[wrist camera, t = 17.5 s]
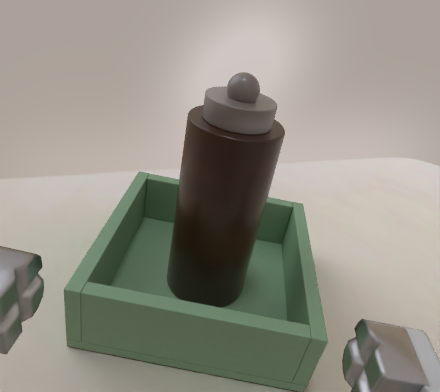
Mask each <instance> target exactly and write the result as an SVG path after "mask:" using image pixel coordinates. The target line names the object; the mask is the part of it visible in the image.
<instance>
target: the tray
mask: <svg viewBox="0 0 440 392" xmlns="http://www.w3.org/2000/svg"><path fill="white" fill-rule="evenodd" d="M178 187H179V180H178V179H173V178H168V177H163V176H158V175H153V174H149V173H144V172H139V173H138V174H137V176H136V177H135V179H134V180H133V182H132V183H131V185H130V187H129V188H128V190H127V191H126V193H125V194H124V196H123V198H122V199H121V201H120V202H119V204H118V205H117V207H116V209H115V210H114V212H113V213H112V215H111V216H110V218H109V220H108V221H107V223H106V224H105V226H104V227H103V229H102V231H101V232H100V234H99V235H98V237H97V238H96V240H95V241H94V243H93V245H92V246H91V248H90V249H89V251H88V252H87V254H86V256H85V257H84V259H83V260H82V262H81V263H80V265H79V267H78V268H77V270H76V271H75V273H74V274H73V276H72V278H71V279H70V281H69V282H68V284H67V285H66V287H65V289H64V301H65V320H66V338H67V346H70V347H75V348H80V349H85V350H90V351H95V352H100V353H105V354H110V355H115V356H120V357H126V358H131V359H136V360H141V361H146V362H151V363H156V364H161V365H166V366H171V367H176V368H181V369H187V370H192V371H197V372H202V373H207V374H212V375H217V376H222V377H227V378H232V379H237V380H243V381H248V382H253V383H258V384H263V385H268V386H273V387H278V388H283V389H288V390H293V391H298V392H304V390H305V388H306V386H307V384H308V382H309V380H310V378H311V376H312V374H313V372H314V370H315V367H316V365H317V363H318V361H319V359H320V357H321V355H322V353H323V351H324V348H325V346H326V344H327V342H328V340H327V334H326V328H325V323H324V317H323V312H322V306H321V301H320V295H319V290H318V284H317V279H316V273H315V268H314V262H313V257H312V251H311V246H310V240H309V235H308V229H307V224H306V218H305V213H304V207H303V204H301V203H296V202H293V203H292V202H290V201H285V200H280V199H274V198H269V197H267V201H266V204H265V208H264V212H263V215H262V219H261V223H260V226H259V230H258V234H257V237H256V241H255V245H254V248H253V252H252V256H251V259H250V263H249V267H248V270H247V274H246V277H245V281H244V285H243V288H242V292H241V294H240V296H239V297H238V298H237V299H236V300H235V301H234V302H233V303H231V304H229V305H227V306H225V307H222V308H219V307H214V306H209V305H204V304H199V303H194V302H189V301H184V300H180V299H179V298H177V297H176V296H175V295H174V294H173V292H172V291H171V290H170V288H169V286H168V283H167V270H168V262H169V255H170V247H171V240H172V232H173V225H174V217H175V209H176V202H177V194H178Z"/></svg>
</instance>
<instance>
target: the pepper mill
mask: <svg viewBox="0 0 440 392" xmlns="http://www.w3.org/2000/svg"><path fill="white" fill-rule="evenodd" d="M259 92H260V86H259V83H258V81H257V79H256V78H255V77H254V76H253V75H251V74H249V73H244V72H243V73H238V74H236V75H235V76H233V77H232V78H231V79H230V81H229V83H228V86H227V87H213V88H210V89H208V90H207V91H206V93H205V99H204V105H202V106H198V107H195V108H193V109H192V110H190V112H189V113H188V120H187V127H186V134H185V141H184V149H183V157H182V164H181V172H180V179H179V187H178V194H177V202H176V209H175V217H174V225H173V232H172V240H171V247H170V255H169V262H168V270H167V283H168V286H169V288H170V290H171V291H172V292H173V294H174V295H175V296H176V297H177V298H179V299H180V300H184V301H189V302H194V303H199V304H204V305H209V306H214V307H219V308H222V307H225V306H227V305H229V304H231V303H233V302H234V301H235V300H236V299H237V298H238V297H239V296H240V294H241V292H242V288H243V285H244V281H245V277H246V274H247V270H248V267H249V263H250V259H251V256H252V252H253V248H254V245H255V241H256V237H257V234H258V230H259V226H260V223H261V219H262V215H263V212H264V208H265V204H266V201H267V197H268V193H269V190H270V186H271V182H272V179H273V175H274V171H275V168H276V164H277V161H278V157H279V153H280V149H281V146H282V142H283V139H284V135H285V131H284V128H283V126H282V125H281V124H280V123H279V122H277V121H276V120H274V118H275V114H276V110H277V104H276V102H275V101H274V100H272V99H271V98H269V97H267V96H265V95H263V94H260V93H259Z"/></svg>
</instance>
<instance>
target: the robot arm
mask: <svg viewBox="0 0 440 392" xmlns="http://www.w3.org/2000/svg"><path fill="white" fill-rule="evenodd" d="M41 268H42V261H41V256H39V255H37V254H33V253H29V252H24V251H20V250H15V249H11V248H7V247H2V246H0V353H1V354H7V353H8V351H9V350H10V349H11V347H12V346H13V344H14V343H15V341H16V340H17V338H18V337H19V335H20V334H21V333H22V325H21V323H22V322H23V321H25V320H27V319H29V318H31V317H32V316H33V315H34V313H35V312H36V310H37V309H38V307H39V304H40V302H41V299H42V297H43V290H44V281H43V279H42V278H41V277H40V275H39V274H38V272H39V271H40V269H41ZM355 333H356V337H355V338H353V339H351V340H349V341H348V343H347V345H346V347H345V349H344V354H343V360H342V362H343V373H344V379H345V380H346V381H347V383H348V384H349V385H350V386H351V387H352V390H351V392H440V361H439V359H438V357H437V355H436V352H435V350H434V348H433V346H432V344H431V342H430V340H429V338H428V335H427V334H426V333H425V332H424V331H423V330H418V329H413V328H408V327H400V326H396V325H391V324H386V323H381V322H375V321H370V320H365V319H362V320H360V321H359V322H358V324H357V325H356V327H355Z"/></svg>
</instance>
